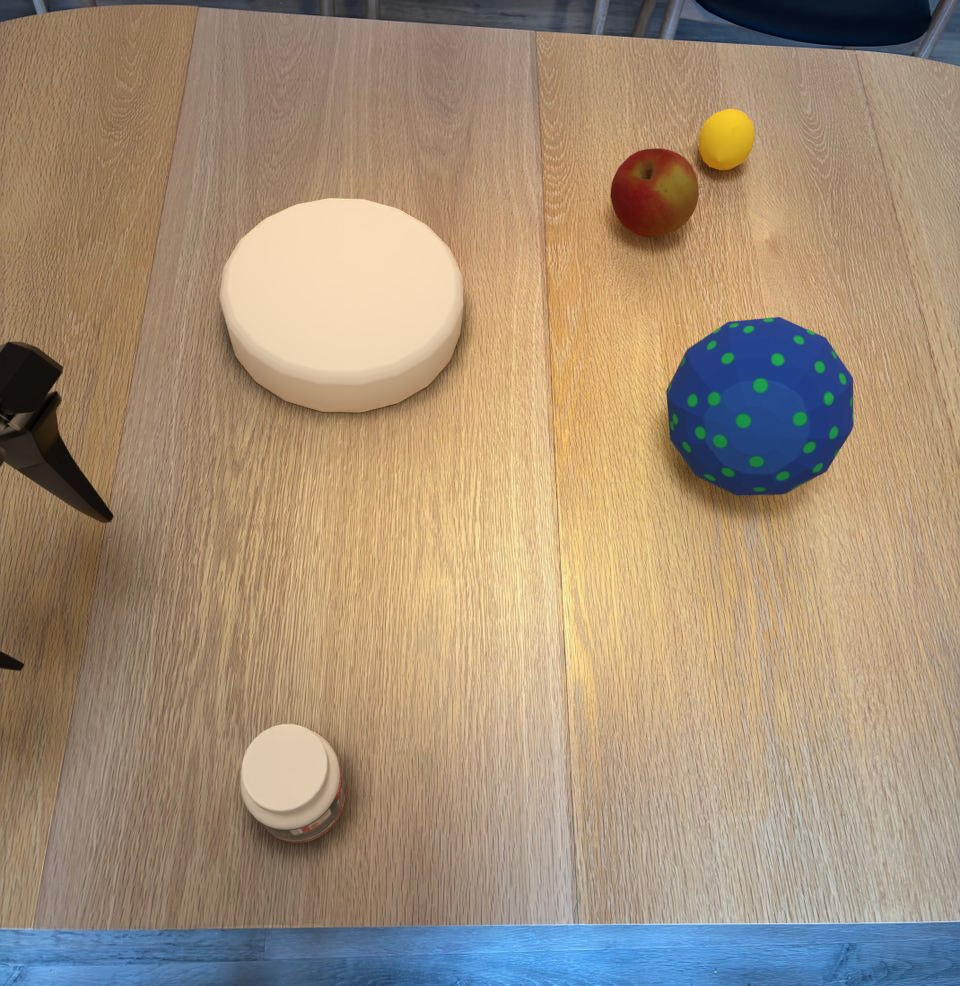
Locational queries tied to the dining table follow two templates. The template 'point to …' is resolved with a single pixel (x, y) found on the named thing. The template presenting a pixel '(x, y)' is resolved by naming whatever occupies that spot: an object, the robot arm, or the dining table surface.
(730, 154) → the lemon
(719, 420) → the green-spotted blue ball
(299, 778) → the pill bottle
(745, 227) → the dining table surface
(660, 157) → the apple
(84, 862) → the dining table surface
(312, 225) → the container
